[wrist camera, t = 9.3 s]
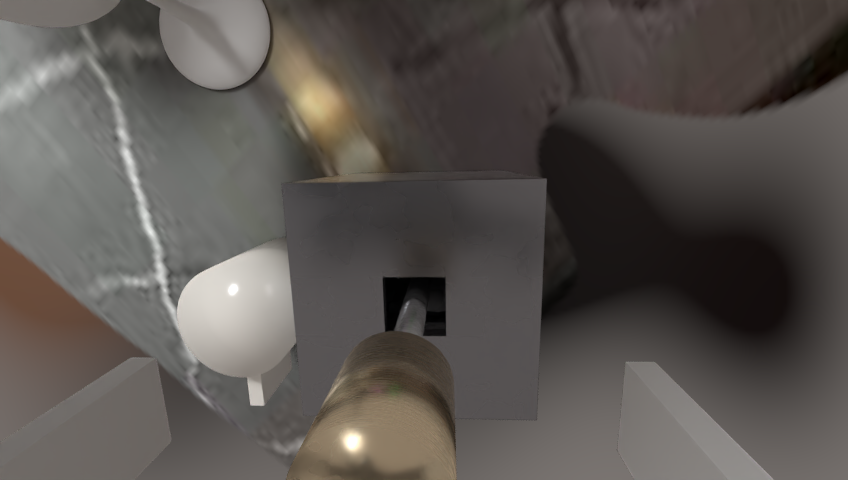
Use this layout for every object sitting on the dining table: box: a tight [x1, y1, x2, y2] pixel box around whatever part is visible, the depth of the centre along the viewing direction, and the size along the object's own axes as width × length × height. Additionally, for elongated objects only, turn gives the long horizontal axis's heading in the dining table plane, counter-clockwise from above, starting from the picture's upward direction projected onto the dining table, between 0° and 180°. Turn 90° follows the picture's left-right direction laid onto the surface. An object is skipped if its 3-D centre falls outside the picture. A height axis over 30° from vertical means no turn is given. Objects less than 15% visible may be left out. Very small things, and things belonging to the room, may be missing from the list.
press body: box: [282, 170, 547, 420], centre depth 26 cm, size 12×12×14 cm
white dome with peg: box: [177, 237, 296, 406], centre depth 30 cm, size 8×11×9 cm
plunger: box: [286, 277, 456, 480], centre depth 19 cm, size 9×9×23 cm
